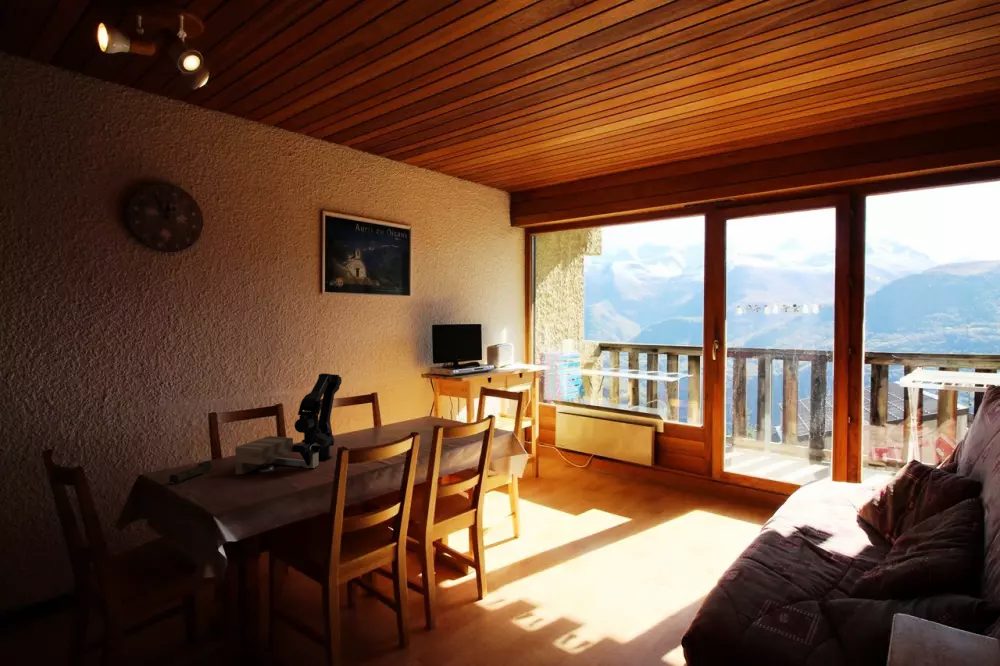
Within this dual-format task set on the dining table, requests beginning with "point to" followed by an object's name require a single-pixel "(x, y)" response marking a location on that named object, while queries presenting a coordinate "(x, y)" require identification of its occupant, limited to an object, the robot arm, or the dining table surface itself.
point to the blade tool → (300, 461)
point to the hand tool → (191, 472)
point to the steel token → (266, 468)
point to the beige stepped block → (261, 452)
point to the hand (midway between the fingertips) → (311, 463)
